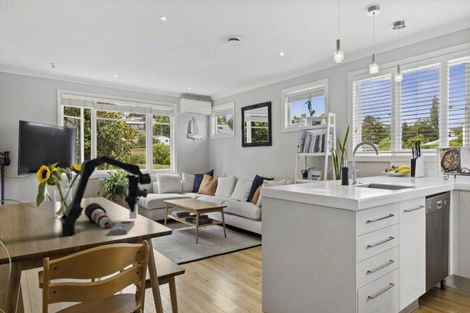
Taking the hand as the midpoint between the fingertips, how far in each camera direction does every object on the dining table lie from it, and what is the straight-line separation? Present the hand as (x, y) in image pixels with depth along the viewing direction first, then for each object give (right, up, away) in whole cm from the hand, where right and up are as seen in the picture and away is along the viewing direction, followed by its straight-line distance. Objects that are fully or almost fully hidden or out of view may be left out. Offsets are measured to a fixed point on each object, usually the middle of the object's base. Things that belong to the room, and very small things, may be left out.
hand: (133, 211), depth 181 cm
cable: (-18, -8, -3) cm, 20 cm away
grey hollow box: (0, -8, -18) cm, 19 cm away
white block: (0, -4, 0) cm, 4 cm away
